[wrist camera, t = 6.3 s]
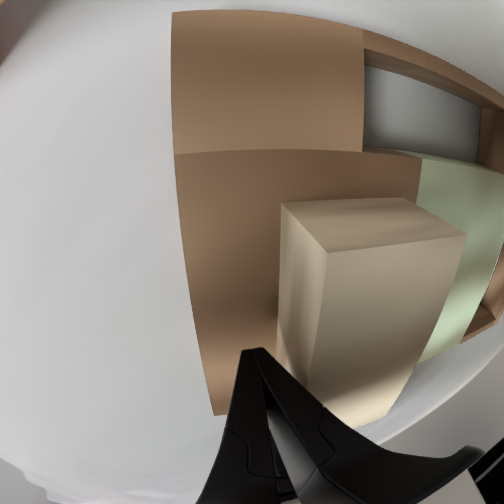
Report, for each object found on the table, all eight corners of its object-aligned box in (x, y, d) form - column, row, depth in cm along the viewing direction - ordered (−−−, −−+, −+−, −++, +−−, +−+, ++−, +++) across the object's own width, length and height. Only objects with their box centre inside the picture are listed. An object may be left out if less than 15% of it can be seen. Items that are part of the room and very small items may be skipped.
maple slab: (358, 370, 14) (384, 416, 11) (273, 391, 13) (291, 447, 10) (402, 197, 10) (467, 234, 7) (280, 202, 9) (327, 253, 6)
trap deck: (482, 308, 20) (497, 322, 18) (209, 382, 16) (214, 415, 14) (528, 126, 12) (550, 134, 10) (176, 34, 8) (172, 12, 5)
